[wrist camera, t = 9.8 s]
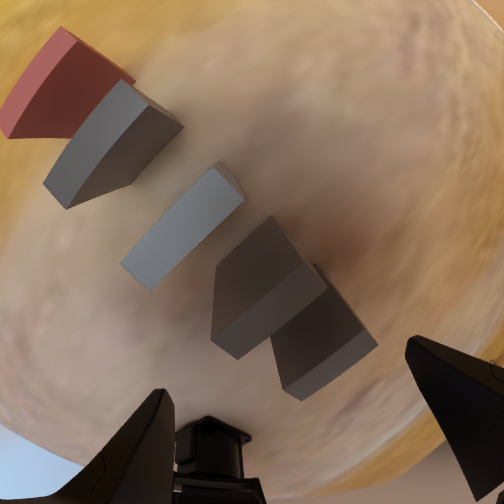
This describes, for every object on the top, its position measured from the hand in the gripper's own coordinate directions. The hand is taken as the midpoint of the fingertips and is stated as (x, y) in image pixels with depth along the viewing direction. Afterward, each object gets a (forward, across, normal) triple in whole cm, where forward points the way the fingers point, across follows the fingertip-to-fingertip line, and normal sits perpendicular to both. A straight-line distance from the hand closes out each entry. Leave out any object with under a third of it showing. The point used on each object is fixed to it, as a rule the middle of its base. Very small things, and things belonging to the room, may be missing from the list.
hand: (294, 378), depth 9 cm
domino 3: (+11, 0, -1) cm, 11 cm away
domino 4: (+11, -2, +3) cm, 11 cm away
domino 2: (+11, +3, -5) cm, 12 cm away
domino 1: (+11, +6, -9) cm, 15 cm away
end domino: (+11, +8, -13) cm, 19 cm away
